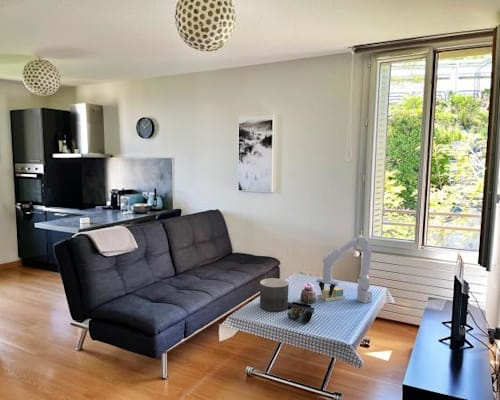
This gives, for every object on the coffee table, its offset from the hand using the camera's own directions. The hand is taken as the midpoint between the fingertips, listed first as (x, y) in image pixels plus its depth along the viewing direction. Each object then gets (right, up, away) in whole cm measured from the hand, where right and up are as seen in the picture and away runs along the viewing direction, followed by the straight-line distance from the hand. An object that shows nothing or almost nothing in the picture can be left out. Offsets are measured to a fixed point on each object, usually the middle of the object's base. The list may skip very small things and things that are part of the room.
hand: (326, 294), depth 255 cm
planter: (-36, -5, -12) cm, 38 cm away
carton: (0, -3, 0) cm, 3 cm away
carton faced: (+8, -3, +2) cm, 9 cm away
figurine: (-23, -7, -33) cm, 40 cm away
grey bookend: (+3, -4, +4) cm, 6 cm away
